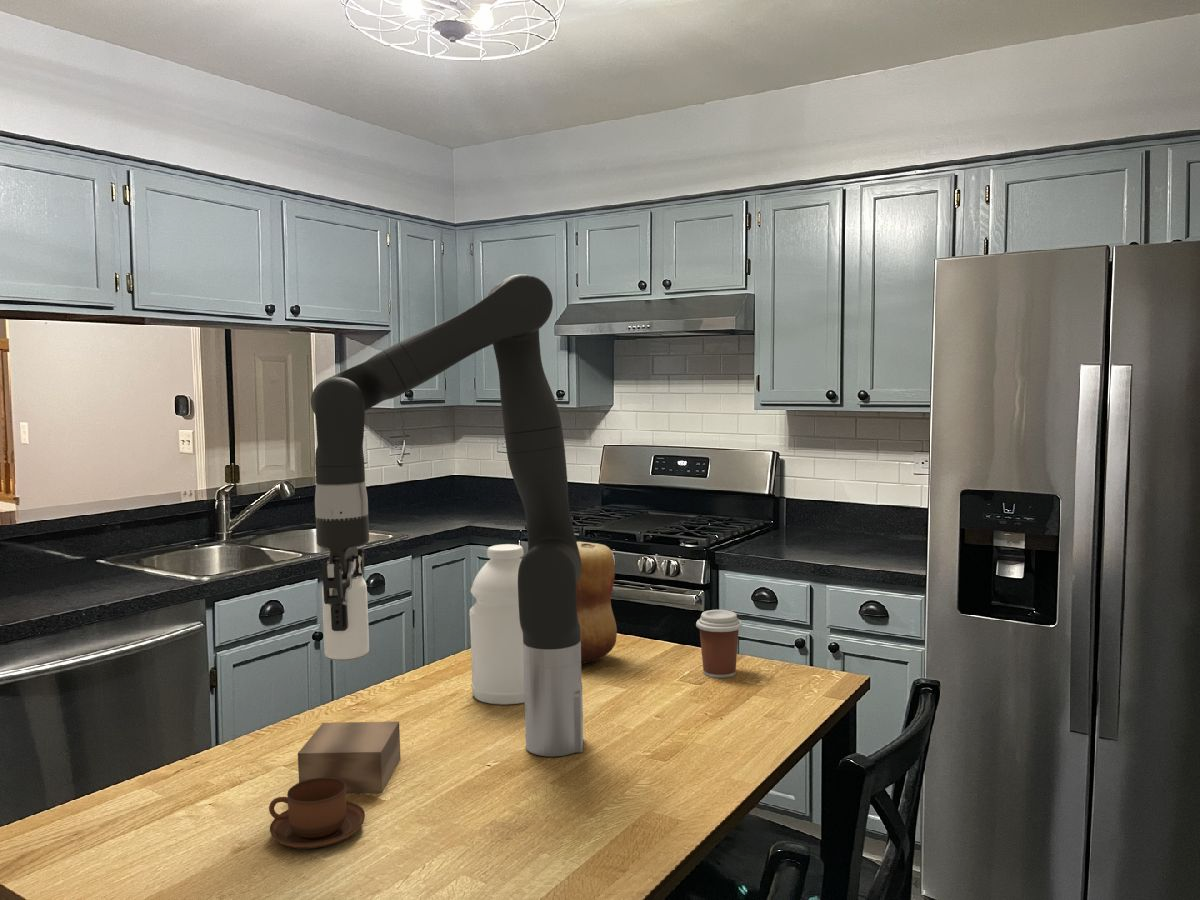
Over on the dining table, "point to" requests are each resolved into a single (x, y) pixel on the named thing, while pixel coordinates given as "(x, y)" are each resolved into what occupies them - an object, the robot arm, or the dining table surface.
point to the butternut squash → (595, 601)
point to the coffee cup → (719, 642)
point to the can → (357, 633)
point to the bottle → (497, 629)
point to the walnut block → (352, 754)
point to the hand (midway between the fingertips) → (346, 623)
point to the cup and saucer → (315, 814)
